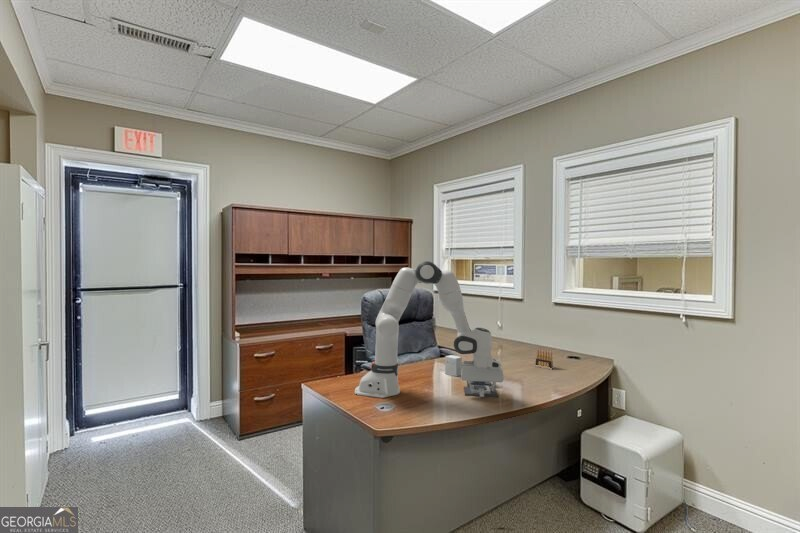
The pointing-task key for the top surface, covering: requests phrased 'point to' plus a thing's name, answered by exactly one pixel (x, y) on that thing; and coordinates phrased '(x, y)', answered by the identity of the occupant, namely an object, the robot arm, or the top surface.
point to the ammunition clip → (544, 358)
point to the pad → (469, 393)
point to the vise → (479, 383)
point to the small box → (453, 365)
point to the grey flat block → (481, 390)
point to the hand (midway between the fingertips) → (481, 390)
